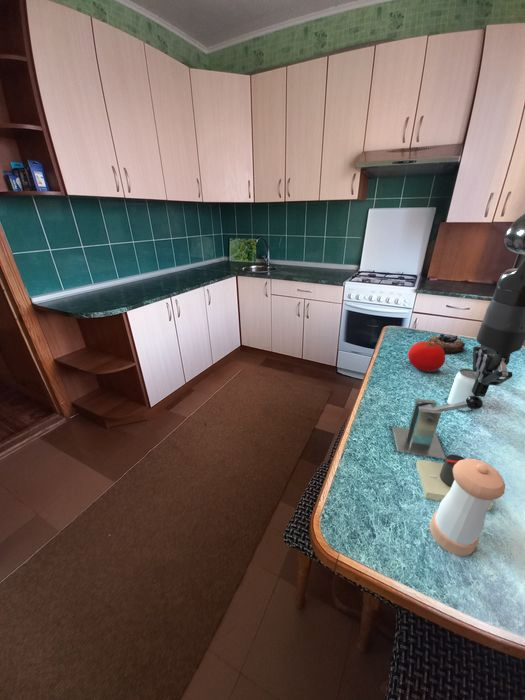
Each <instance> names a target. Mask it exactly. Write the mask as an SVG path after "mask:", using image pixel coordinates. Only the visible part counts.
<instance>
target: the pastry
mask: <svg viewBox="0 0 525 700" xmlns="http://www.w3.org/2000/svg"><path fill="white" fill-rule="evenodd" d="M427 341H428V342H433V343H436V344H438V345H439V346H441V347H442V348H443V350H444V353H445V355H454V354H459V353H463V352H464V351H465V348H464V347H465V346H466V343H465V342H464V340H463V341H462V338H459V336H458V335H453V334H449V333H448V334H444V333H440V334H439V335H435V336H430V338H429V339H428V340H427Z"/></svg>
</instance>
